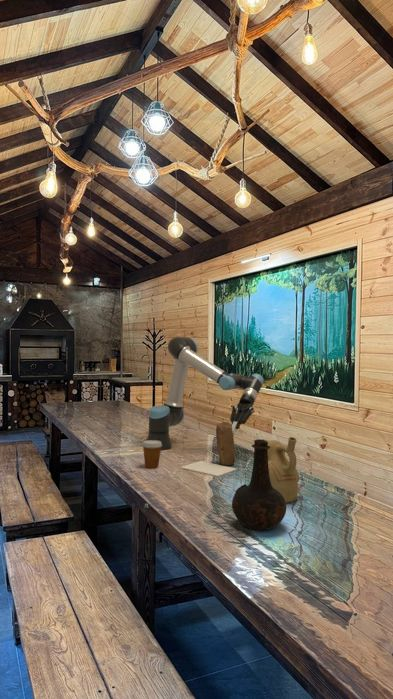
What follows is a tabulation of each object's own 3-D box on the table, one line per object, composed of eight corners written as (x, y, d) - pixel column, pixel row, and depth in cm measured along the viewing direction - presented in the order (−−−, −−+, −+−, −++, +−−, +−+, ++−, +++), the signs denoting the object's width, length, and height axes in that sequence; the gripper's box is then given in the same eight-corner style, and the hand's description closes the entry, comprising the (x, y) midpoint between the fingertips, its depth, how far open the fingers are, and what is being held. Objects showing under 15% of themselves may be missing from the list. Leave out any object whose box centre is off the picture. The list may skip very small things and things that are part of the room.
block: (236, 465, 221) (233, 425, 219) (221, 467, 220) (218, 427, 218) (231, 457, 232) (228, 419, 229) (217, 459, 231) (214, 421, 228)
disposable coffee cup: (160, 469, 213) (161, 444, 212) (140, 469, 213) (141, 443, 213) (162, 464, 222) (163, 440, 222) (143, 464, 222) (143, 439, 222)
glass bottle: (250, 511, 161) (251, 432, 161) (295, 524, 150) (297, 439, 149) (220, 525, 147) (222, 439, 147) (268, 541, 136) (270, 448, 136)
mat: (180, 468, 216) (180, 467, 216) (200, 462, 229) (200, 460, 229) (218, 477, 203) (218, 475, 203) (237, 469, 215) (237, 468, 215)
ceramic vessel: (284, 488, 188) (285, 428, 188) (312, 504, 170) (314, 437, 170) (247, 492, 182) (249, 430, 182) (273, 509, 164) (274, 440, 163)
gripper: (235, 392, 244) (217, 427, 230) (257, 394, 236) (240, 430, 222) (240, 401, 248) (223, 436, 234) (261, 403, 240) (245, 439, 226)
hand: (231, 433), depth 228 cm, fingers closed
